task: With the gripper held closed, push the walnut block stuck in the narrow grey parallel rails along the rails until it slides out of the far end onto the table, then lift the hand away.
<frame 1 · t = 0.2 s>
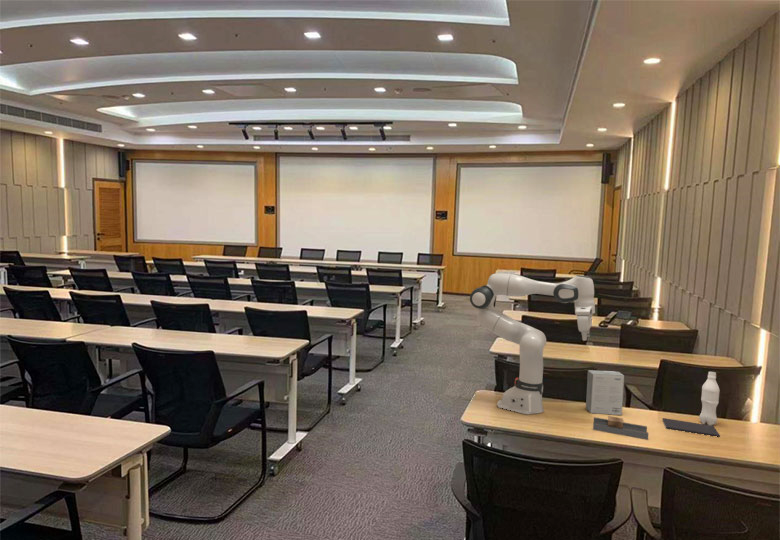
hand: (585, 338, 236), 38 cm above the table, tool pointing down, fingers open, 8 cm apart
water bottle: (707, 424, 239), on the table
hard drive box: (603, 412, 249), on the table
notebook: (689, 429, 232), on the table
walnut block: (614, 430, 225), on the table
grey parallel rails: (619, 430, 224), on the table
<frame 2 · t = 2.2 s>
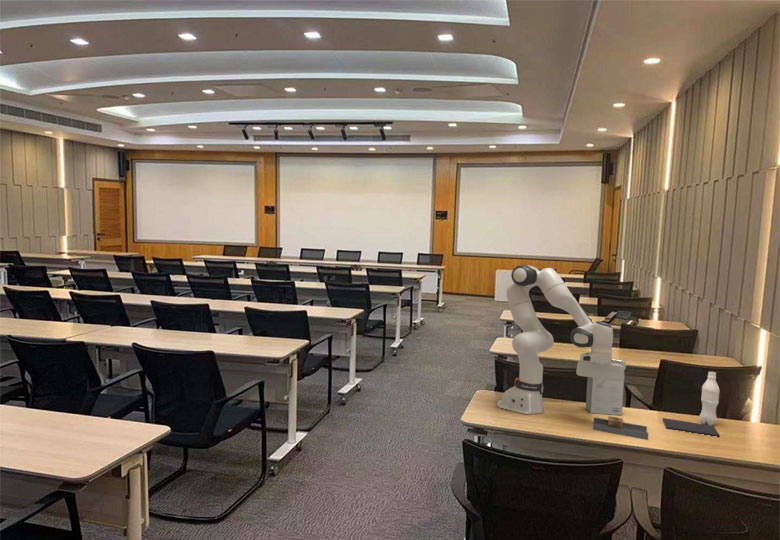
hand: (599, 387, 227), 18 cm above the table, tool pointing down, fingers closed
nothing on the table moved.
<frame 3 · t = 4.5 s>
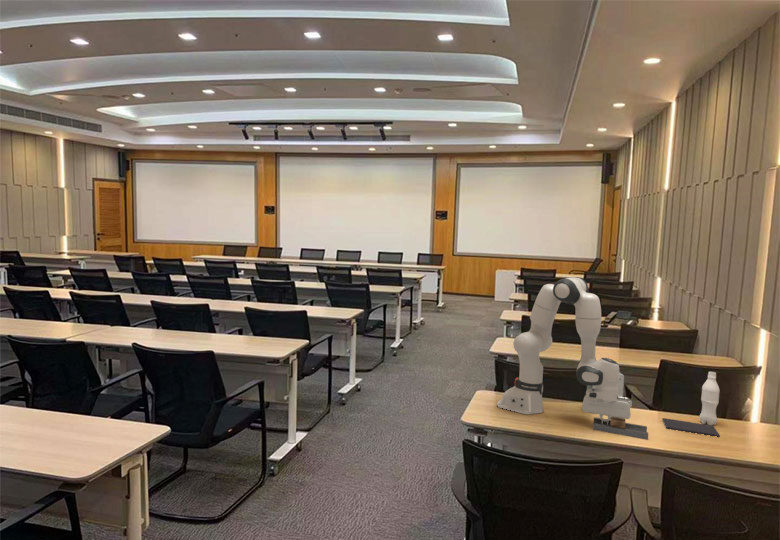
hand: (604, 424, 227), 2 cm above the table, tool pointing down, fingers closed
walnut block: (617, 430, 225), on the table, touching gripper
everything else where it was.
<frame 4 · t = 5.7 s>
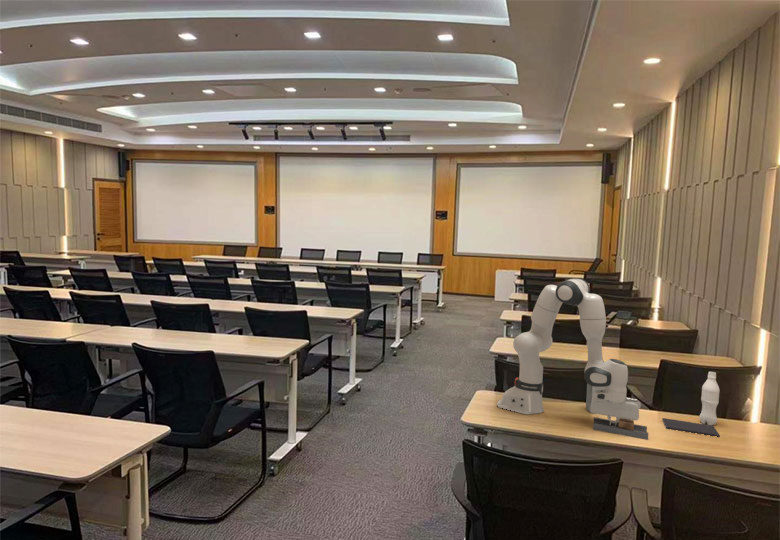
hand: (612, 425, 225), 2 cm above the table, tool pointing down, fingers closed
walnut block: (625, 431, 223), on the table, touching gripper
everything else where it was.
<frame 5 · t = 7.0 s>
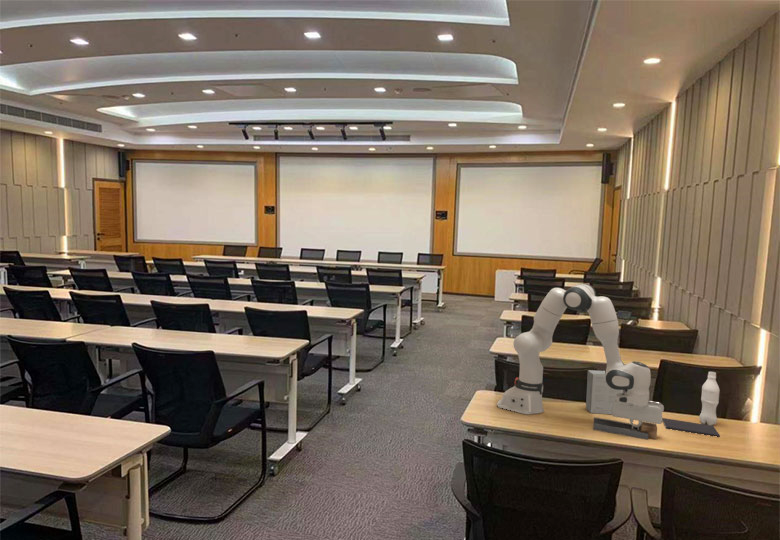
hand: (635, 429, 222), 2 cm above the table, tool pointing down, fingers closed
walnut block: (648, 435, 220), on the table, touching gripper
everything else where it was.
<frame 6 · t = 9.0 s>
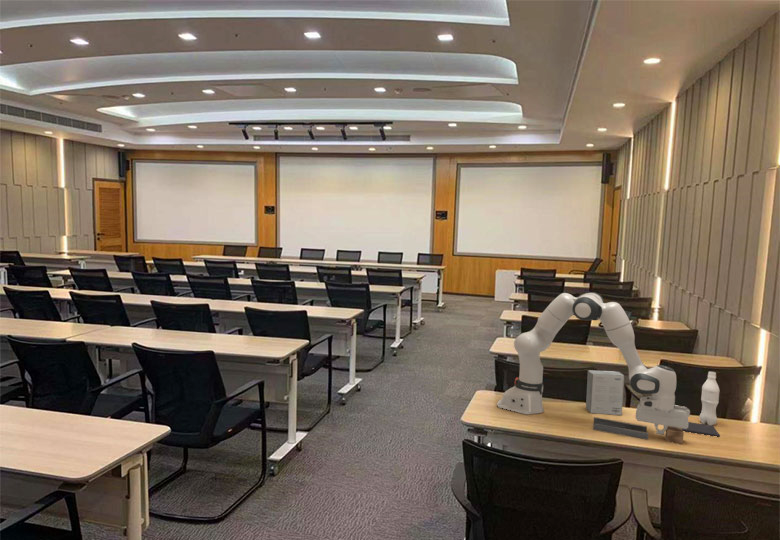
hand: (660, 434, 218), 2 cm above the table, tool pointing down, fingers closed
walnut block: (673, 440, 216), on the table, touching gripper
everything else where it was.
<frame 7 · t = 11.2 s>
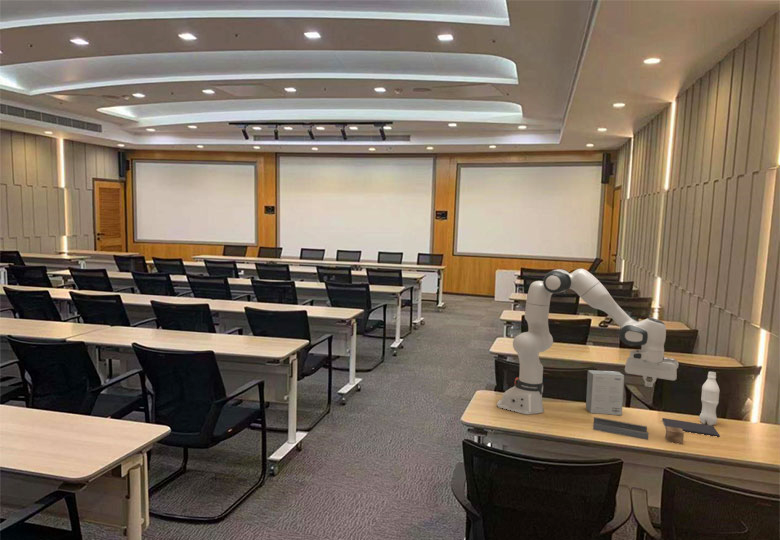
hand: (648, 386, 220), 22 cm above the table, tool pointing down, fingers closed
walnut block: (673, 440, 216), on the table
everything else where it was.
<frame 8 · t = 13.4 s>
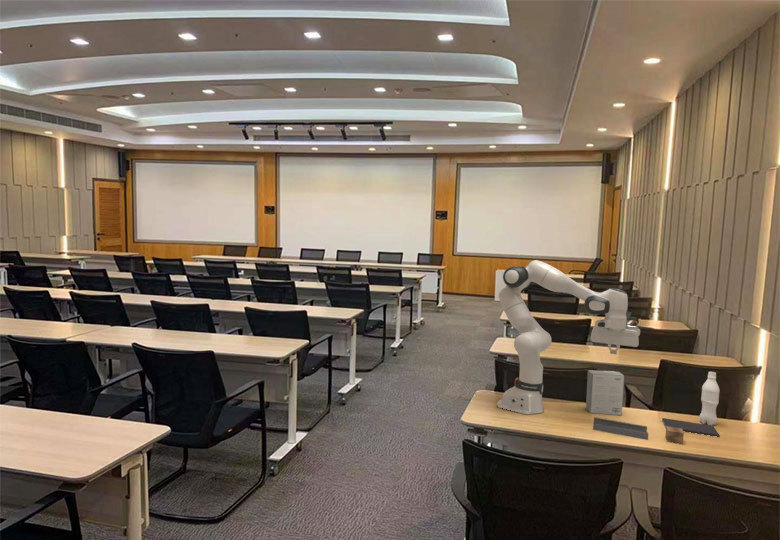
hand: (613, 353, 230), 33 cm above the table, tool pointing down, fingers closed
nothing on the table moved.
at the end: walnut block inside the target area (1.4 cm from its centre), on the table; walnut block moved 23.4 cm from its start; walnut block tilted 0° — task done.
